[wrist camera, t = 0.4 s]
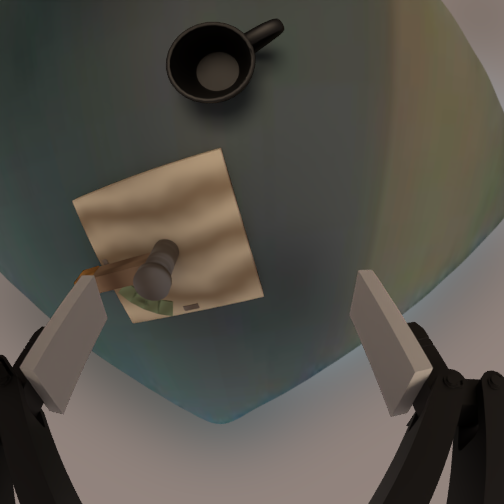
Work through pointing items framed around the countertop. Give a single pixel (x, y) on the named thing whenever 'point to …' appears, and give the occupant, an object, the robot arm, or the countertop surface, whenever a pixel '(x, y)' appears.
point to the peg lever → (140, 272)
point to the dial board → (176, 234)
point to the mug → (216, 59)
